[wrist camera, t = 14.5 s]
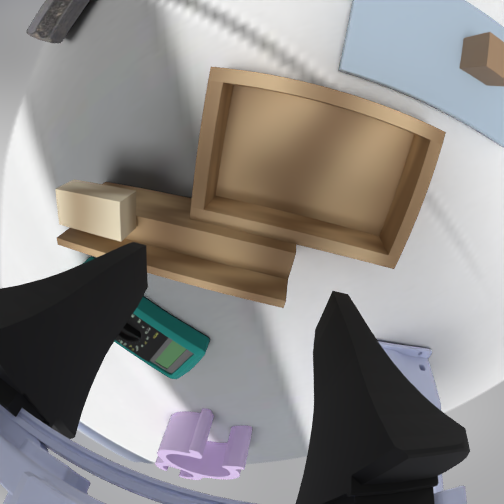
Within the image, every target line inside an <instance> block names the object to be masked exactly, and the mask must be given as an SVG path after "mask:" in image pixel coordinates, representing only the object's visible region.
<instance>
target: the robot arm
mask: <svg viewBox="0 0 504 504" xmlns="http://www.w3.org/2000/svg"><path fill="white" fill-rule="evenodd" d="M147 287H148V284H147V252H146V245H143V244H139V243H136V242H131V243H128V244H126V245H123V246H121V247H119V248H117V249H114V250H112V251H110V252H108V253H106V254H104V255H101V256H99V257H97V258H95V259H93V260H91V261H88V262H86V263H84V264H81V265H79V266H77V267H74V268H72V269H70V270H67V271H65V272H62V273H59V274H57V275H54V276H51V277H48V278H45V279H42V280H38V281H34V282H30V283H26V284H23V285H18V286H13V287H8V288H2V289H0V484H1V485H2V486H3V487H4V488H5V489H6V490H7V491H8V494H7V496H6V498H5V500H4V503H3V504H106V503H103V502H101V501H99V500H97V499H95V498H93V497H91V496H89V495H88V494H87V490H88V488H89V486H90V482H89V481H88V480H87V479H85V478H84V477H82V476H80V475H79V474H77V473H76V472H74V471H73V470H72V469H71V468H69V466H67V465H66V464H64V463H63V462H61V461H60V460H58V459H56V458H55V457H54V456H52V455H51V454H49V453H48V449H50V450H52V451H53V452H55V453H56V454H58V455H60V456H61V457H63V458H64V459H66V460H68V461H69V462H71V463H73V464H75V465H76V466H78V467H80V468H82V469H84V470H86V471H87V472H89V473H91V474H93V475H95V476H97V477H99V478H101V479H103V480H105V481H108V482H110V483H112V484H114V485H116V486H118V487H121V488H123V489H125V490H128V491H130V492H133V493H135V494H138V495H140V496H143V497H146V498H148V499H151V500H154V501H156V502H160V503H163V504H256V503H249V502H243V501H238V500H232V499H227V498H222V497H217V496H213V495H209V494H205V493H201V492H197V491H193V490H190V489H186V488H182V487H179V486H176V485H172V484H170V483H167V482H163V481H160V480H158V479H155V478H152V477H149V476H147V475H144V474H141V473H139V472H136V471H134V470H131V469H129V468H127V467H124V466H122V465H120V464H117V463H115V462H113V461H111V460H108V459H107V458H104V457H102V456H100V455H98V454H96V453H94V452H92V451H90V450H88V449H87V448H85V447H83V446H81V445H79V444H77V443H76V442H73V441H72V440H70V439H71V438H74V437H75V435H76V431H77V427H78V424H79V420H80V417H81V413H82V410H83V407H84V404H85V402H86V399H87V396H88V393H89V391H90V388H91V386H92V384H93V381H94V379H95V376H96V374H97V372H98V370H99V368H100V366H101V364H102V361H103V359H104V357H105V355H106V354H107V352H108V350H109V348H110V347H111V345H112V344H113V342H114V341H115V339H116V338H117V336H118V335H119V333H120V332H121V330H122V329H123V327H124V326H125V325H126V323H127V322H128V320H129V319H130V317H131V316H132V314H133V313H134V311H135V310H136V308H137V307H138V305H139V303H140V301H141V299H142V297H143V295H144V293H145V291H146V289H147ZM431 354H432V351H431V349H427V348H420V347H413V346H406V345H399V344H393V343H386V342H380V341H377V339H376V338H375V336H374V335H373V333H372V332H371V330H370V329H369V327H368V326H367V324H366V322H365V321H364V319H363V318H362V316H361V314H360V313H359V311H358V309H357V308H356V306H355V305H354V303H353V301H352V300H351V298H350V297H349V295H348V294H344V293H339V292H335V291H332V294H331V296H330V298H329V301H328V303H327V305H326V307H325V310H324V312H323V314H322V316H321V318H320V321H319V323H318V325H317V327H316V329H315V338H314V349H313V366H314V414H313V422H312V430H311V437H310V443H309V450H308V455H307V460H306V465H305V470H304V475H303V479H302V483H301V486H300V491H299V494H298V498H297V501H296V504H467V500H466V490H465V486H464V485H462V486H459V487H455V488H451V489H448V490H443V479H442V473H444V472H446V471H447V470H449V469H450V468H452V467H454V466H456V465H457V464H459V463H460V462H462V461H463V460H464V459H465V458H466V457H467V456H468V454H469V452H470V449H469V444H468V439H467V435H466V430H465V428H464V427H462V426H461V425H460V424H458V423H456V422H455V421H454V420H453V419H451V418H450V417H448V416H447V415H445V414H444V413H443V412H442V411H441V403H440V398H439V395H438V391H437V387H436V384H435V380H434V377H433V374H432V370H431V367H430V364H429V361H428V358H429V357H430V355H431ZM47 448H48V449H47Z"/></svg>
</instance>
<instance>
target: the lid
mask: <svg viewBox="0 0 504 504" xmlns="http://www.w3.org/2000/svg"><path fill="white" fill-rule="evenodd" d="M338 71H341V72H345V73H348V74H351V75H354V76H357V77H360V78H363V79H366V80H369V81H372V82H375V83H378V84H380V85H383V86H386V87H388V88H391V89H393V90H396V91H398V92H401V93H403V94H406V95H408V96H410V97H413V98H415V99H417V100H419V101H422V102H424V103H426V104H428V105H430V106H432V107H434V108H436V109H438V110H440V111H442V112H444V113H446V114H448V115H450V116H452V117H454V118H456V119H457V120H459V121H461V122H463V123H465V124H466V125H468V126H470V127H472V128H473V129H475V130H477V131H478V132H480V133H482V134H483V135H485V136H486V137H488V138H490V139H491V140H493V141H494V142H496V143H497V144H499V145H500V146H502V147H504V27H503V26H501V25H500V24H499V23H497V22H496V21H495V20H493V19H492V18H491V17H489V16H488V15H486V14H485V13H483V12H482V11H481V10H479V9H478V8H476V7H474V6H473V5H471V4H470V3H468V2H467V1H465V0H353V2H352V8H351V13H350V18H349V23H348V28H347V33H346V38H345V43H344V47H343V52H342V57H341V61H340V66H339V70H338Z"/></svg>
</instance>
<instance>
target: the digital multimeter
mask: <svg viewBox="0 0 504 504" xmlns="http://www.w3.org/2000/svg"><path fill="white" fill-rule="evenodd" d="M93 259H95V258H93V257H90V258H88V259H87V260H86V261H85V262H84V263H86V262H88V261H91V260H93ZM84 263H83V264H84ZM114 342H116V343H117V344H119V345H120V346H121V347H123V348H124V349H126V350H127V351H129V352H130V353H132V354H133V355H135V356H136V357H138V358H139V359H141V360H142V361H144V362H145V363H147V364H148V365H150V366H151V367H153V368H154V369H156V370H158V371H159V372H161V373H162V374H164V375H166V376H167V377H169V378H171V379H178V378H179V377H181V376H183V375H184V374H186V373H187V372H188V371H190V370H191V369H192V368H193V367H194V366H195V365H196V364H197V363H198V362H199V361H200V360H201V358H202V357H203V356H204V355H205V352H206V350H207V347H208V344H209V342H210V340H209V338H208V337H206V336H205V335H203V334H201V333H200V332H198V331H197V330H195V329H193V328H192V327H190V326H188V325H187V324H185V323H183V322H182V321H180V320H178V319H177V318H175V317H173V316H172V315H170V314H169V313H167V312H166V311H164V310H163V309H161V308H160V307H158V306H157V305H155V304H154V303H152V302H151V301H149V300H148V299H146V298H145V297H142V299H141V301H140V303H139V305H138V307H137V308H136V310H135V311H134V313H133V314H132V316H131V317H130V319H129V320H128V322H127V323H126V325H125V326H124V327H123V329H122V330H121V332H120V333H119V335H118V336H117V338H116V339H115V341H114ZM192 354H193V355H192Z"/></svg>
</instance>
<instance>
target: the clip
mask: <svg viewBox="0 0 504 504" xmlns="http://www.w3.org/2000/svg"><path fill="white" fill-rule="evenodd" d="M213 417H214V415H213V413H212V411H211V410H210V409H206V408H203V409H202V411H201V413H197V412H177V413H174V414H173V415H172V416H171V418H170V420H169V423H168V425H167V428H166V431H165V433H164V436H163V439H162V441H161V444H160V447H159V449H158V452H157V454H158V457H157V460H156V463H155V465H156V466H157V467H159V468H160V469H162V470H165V471H166V470H167V469H168V466H170V467H174V468H177V469H181V471H180V474H179V476H180V477H183V478H187V479H192V480H200V479H201V478H203V477H206V478H215V479H235V478H238V477H239V476H240V472H241V469H242V470H243V469H245V465H246V460H247V455H248V449H249V444H250V439H251V434H252V427H251V426H233V427H231V431H230V435H229V439H228V443H218V442H211V441H207V438H208V435H209V431H210V428H211V424H212V421H213Z"/></svg>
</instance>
